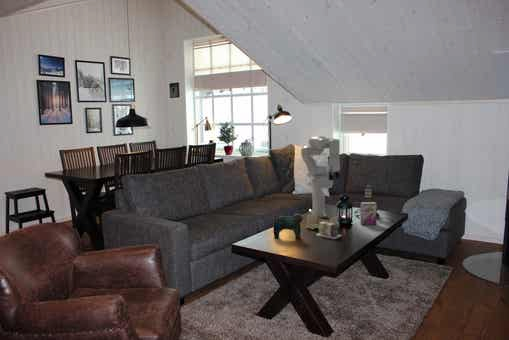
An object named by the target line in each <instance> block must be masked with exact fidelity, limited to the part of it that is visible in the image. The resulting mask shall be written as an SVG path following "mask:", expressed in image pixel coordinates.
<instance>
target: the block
mask: <svg viewBox="0 0 509 340" xmlns="http://www.w3.org/2000/svg"><path fill="white" fill-rule="evenodd" d="M318 225H319V230H318V233H319V234H320V235H325V236H330V237H336V236H338V235H339V228H338V224H335V223H329V222H320V223H319V224H318Z"/></svg>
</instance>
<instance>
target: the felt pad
mask: <svg viewBox="0 0 509 340" xmlns="http://www.w3.org/2000/svg"><path fill="white" fill-rule="evenodd" d="M315 236H317V237H322V238H327V239H328V238H329V239H333V240H336V239H338V238H340V237H342V234H338V236H336V237H330V236H325V235H320V234H319V232H318V233H316V234H315Z"/></svg>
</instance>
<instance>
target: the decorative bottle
mask: <svg viewBox="0 0 509 340" xmlns="http://www.w3.org/2000/svg"><path fill="white" fill-rule="evenodd" d="M365 186H366V188H365V189H364V191H365V192H364V194H365V195H364V198H368V199H369V198H372V194H373V193H372V189H371V188H372V186H371V185H369V184H368V185H365ZM357 200H358V201H359V202H360V203H361V202H365V201H364V200H363V199H361V198H357ZM376 203H377V206H378V205H379V204H381V203H383V200H378V201H376ZM359 206H360V207H359V209H357V210H356V211H354V214H358V213H360V214H361V204H360V205H359ZM379 216H380V214H379V213H378V212H377V217H379Z"/></svg>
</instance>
